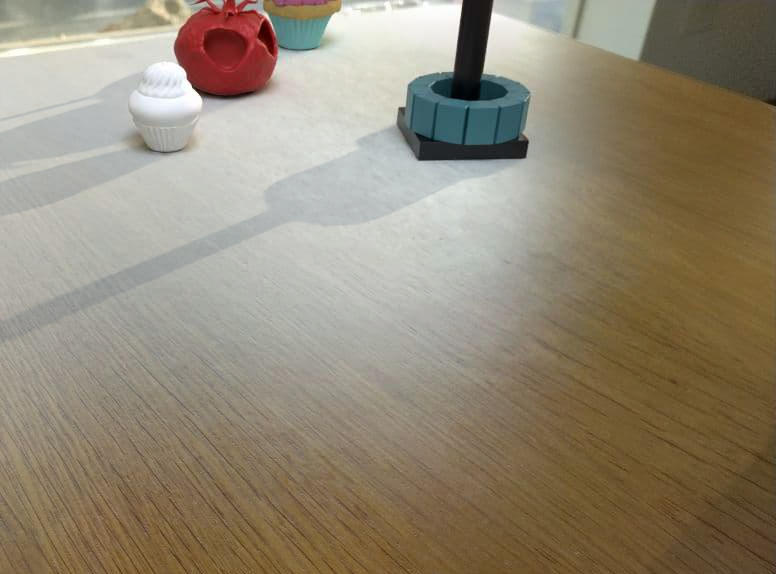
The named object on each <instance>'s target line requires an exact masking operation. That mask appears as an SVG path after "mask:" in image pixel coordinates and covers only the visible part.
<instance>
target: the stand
mask: <svg viewBox="0 0 776 574" xmlns="http://www.w3.org/2000/svg"><path fill="white" fill-rule="evenodd" d="M494 1H495V0H462V2H461V11H460V16H459V17H460V19H459V26H458V33H457V41H456V49H455V56H454V64H453V71H452V72H453V78H452V86H451V94H450V98H451V99H458V100H465V101H479V97H480V90H481V83H482V77H483V74H484V69H485V63H486V57H487V55H486V54H487V48H488V43H489V35H490V27H491V23H492V15H493V8H494ZM405 107H406V106H398V108H397V116H396V117H397V118H396V124H397V126H398V128H399V129H400V131H401V133H402V134H403V136H404V138H405V140H406V141H407V143H408V145H409V146H410V149H411V150H412V151H413V153H414V155H415V157H416V159H417V160H418V161H439V160H441V161H443V160H444V161H445V160H486V159H487V160H491V159H493V160H494V159H526V158H527V154H528V151H529V150H528V149H529V144H530V140H529V138H527V136H526V135H525V134H524V133H523V132H522V133H521V135H520V136H519V137H517V138H516V139H513V140H510V141H506V142H502V143H498V144H495V143H493V144H489V145H465V144H464V143H462V144H455V143H449V142H443V141H437V140H434V138H431V139H429V138H427V137H425V136H422V135H420V134H418V133H415V132H413V131H412V130H410V129H409V128H408V126H407V124H406V123H405V121H404V117H405Z"/></svg>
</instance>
